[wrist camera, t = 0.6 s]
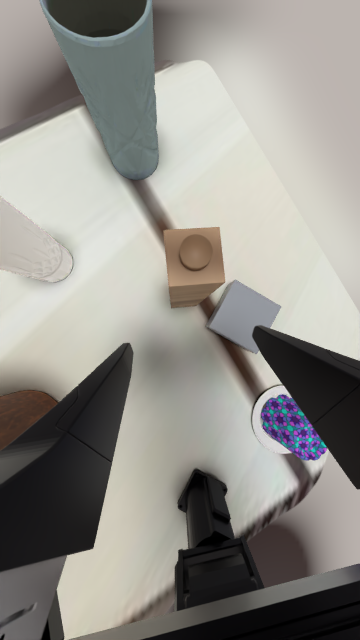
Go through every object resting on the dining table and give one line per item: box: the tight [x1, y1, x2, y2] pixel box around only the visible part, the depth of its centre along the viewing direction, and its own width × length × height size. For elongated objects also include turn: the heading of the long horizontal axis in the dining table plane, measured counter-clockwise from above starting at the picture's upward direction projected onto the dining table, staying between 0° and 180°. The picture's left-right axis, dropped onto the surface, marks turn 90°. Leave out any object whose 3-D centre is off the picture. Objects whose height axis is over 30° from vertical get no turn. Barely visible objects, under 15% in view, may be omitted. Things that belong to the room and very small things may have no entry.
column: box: [163, 227, 225, 308], centre depth 16 cm, size 4×4×14 cm
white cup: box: [0, 196, 73, 282], centre depth 17 cm, size 8×8×10 cm
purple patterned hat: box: [252, 385, 327, 460], centre depth 21 cm, size 12×12×5 cm
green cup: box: [40, 0, 159, 180], centre depth 17 cm, size 10×10×12 cm
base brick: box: [206, 280, 281, 354], centre depth 22 cm, size 9×9×2 cm
